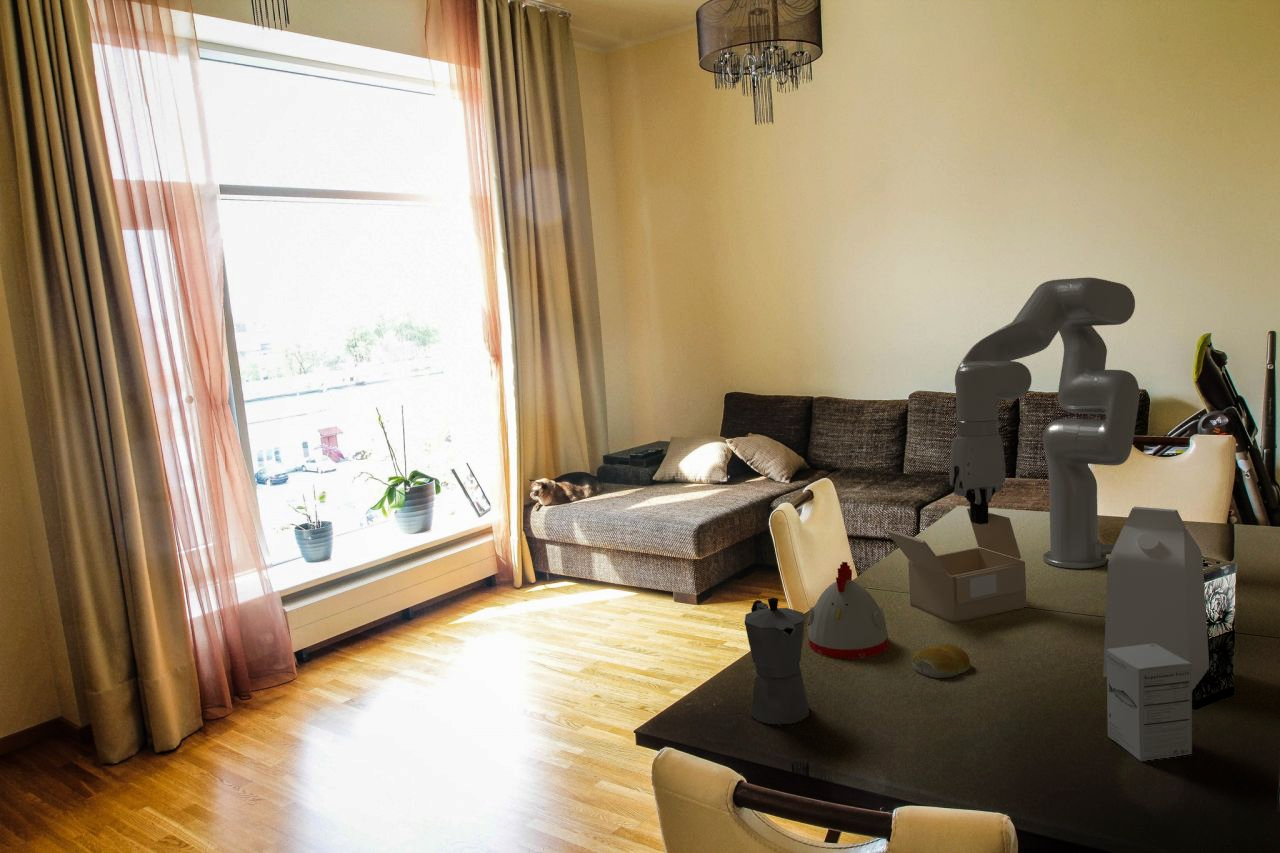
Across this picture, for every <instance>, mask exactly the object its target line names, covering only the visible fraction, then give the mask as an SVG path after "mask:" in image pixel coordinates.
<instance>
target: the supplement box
mask: <svg viewBox="0 0 1280 853" xmlns="http://www.w3.org/2000/svg"><path fill="white" fill-rule="evenodd" d="M1106 686H1107V687H1106V691H1107V692H1106V694H1107V697H1106V699H1107V703H1106V704H1107V705H1106V706H1107V708H1106V709H1107V713H1106V714H1107V716H1106V717H1107V737H1108V738H1109V739H1111V740H1113V742H1115V743H1117V744H1118V745H1119V746H1120V747H1122V748H1123V749H1125V750H1126V751H1127V752H1128V753H1129V754H1131V755H1132V756H1133V757H1135V758H1136V759H1137V760H1138V761H1139V762H1148V761H1147V760H1151V761H1155V760H1154V759H1159V760H1163V759H1162V758H1167V759H1170V758H1169V757H1175V758H1177V757H1176V756H1182V755H1188V754H1192V755H1193V706H1192V705H1193V699H1192V698H1193V691H1192V664H1191V663H1190V662H1188V661H1186V660H1184V659H1183V658H1181V657H1179V656H1177V655H1175V654H1174V653H1172V652H1170V651H1168V650H1166V649H1164V648H1162V647H1161V646H1159V645H1157V644H1144V645H1136V646H1128V647H1120V648H1112V649H1107V677H1106ZM1160 758H1161V759H1160Z"/></svg>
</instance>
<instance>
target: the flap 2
mask: <svg viewBox="0 0 1280 853" xmlns="http://www.w3.org/2000/svg"><path fill="white" fill-rule="evenodd" d="M966 510H967V514H968V517H969V521H970V523H971V526H972V531H973V533H974V537H975V540H976V544H977V548H978V547H979V548H982V549H985V550H988V551H992V552H995V553H998V554H1002V555H1005V556H1008V557H1011V558H1015V559H1018V560H1022V556H1021V552H1020V548H1019V545H1018V543H1017V538H1016V536H1015V533H1014V532H1015V531H1014V529H1013V525H1012V522H1011V519H1010V517H1009V516H1003V515H999V514H995V513H991V512H988V524H981V525H980V524H976V523H973V522H971V517H970V507H968V508H966Z"/></svg>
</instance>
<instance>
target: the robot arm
mask: <svg viewBox="0 0 1280 853" xmlns="http://www.w3.org/2000/svg"><path fill="white" fill-rule="evenodd" d="M1135 307H1136V299H1135V296H1134V293H1133V291H1132V289H1131V288H1129V286H1127V285H1126V284H1123V283H1119V282H1116V281H1111V280H1107V279H1103V278H1097V277H1078V278H1077V277H1076V278H1061V279H1051V280H1047V281H1045V282H1043V283H1041V284H1040V285H1038V286H1037V287H1036V288H1035V290H1033V293H1032V294H1030V297H1029V298H1028V299H1027V301H1026V303H1024V304H1023V306H1022V308H1021V309H1020V311H1019V312H1018V313H1017V314H1016V317H1015V318H1013V320H1012V322H1010V323H1008V324H1006V325H1004V326H1003V327H1001V328H999V329H997V330H996V331H994V332H992V333H990V334H989V335H987V336H985V337H983V338H982V339H980V340H979V341H977V342H976V343H975V344H974V345H973V346H972V347H971V348H970V349H969V350H968V352H967V353H965V356H964V357H963V358H962V360H961V361H960V363H959V364H958V366H957V369H956V371H955V375H954V386H955V407H956V408H955V409H956V414H955V415H956V436H954V437H953V439H952V442H951V448H950V455H949V473H948V475H949V485H950V486H952V487H954V490H953V494H954V495H955V496H959V497H964V498H965V499H966V501H967V503H969V508H970V517H971V521H970V523H971V522H973V523H976V524H980V525H981V524H988V513H989V504H990V503H991V502H992V497H993V496H994V495H995V493H998V492H1000V491H1002V490H1003V489H1004V485H1003V484H1004V483H1005V480H1006V459H1005V451H1004V446H1003V441H1002V436H1001V435H1000V434H999V428H1002V425H1003V424H1002V421H1001V420H999V403H998V402H999V400H1005V401H1006V400H1015V399H1016V400H1017V399H1020V398H1022V397H1023V396H1025V395H1026V394H1027V393H1028V391H1029V390H1030V388H1031V385H1032V374H1031V371H1030V369H1029V368H1028V366H1026V365H1025V364H1024V363H1021V362H1020V361H1015V360H1019V359H1023V358H1025V357H1030V356H1032V355H1035V354H1038V353H1040V352H1042V351H1044V350H1046V349H1047V348H1048V347H1049V346H1050V345H1051V343H1052V341H1053V340H1054V339H1055V337H1056V335H1057V334H1058V333H1059V335H1060V337H1061V340H1062V344H1063V357H1062V358H1063V359H1062V365H1061V369H1060V377H1059V385H1058V391H1057V403H1058V405H1059V407H1060V408H1061V409H1062V410H1064V411H1065V412H1069V413H1073V414H1085V415H1090V414H1091V415H1105V419H1091V418H1068V417H1067V418H1066V417H1065V418H1064V417H1063V418H1059V419H1055V420H1053V421H1051V422H1049V423H1048V424H1047V425H1046V426H1045V428H1044V430H1043V433H1042V446H1043V450H1044V454H1045V459H1046V463H1047V464H1046V465H1047V473H1048V497H1049V501H1048V502H1049V532H1050V533H1049V536H1050V538H1049V539H1050V550H1048V551H1046V552H1044V553H1043V556H1042V557H1043V561H1044V563H1046V564H1049V565H1051V566H1054V567H1058V568H1066V569H1091V568H1099V567H1102V566H1103V565H1105V564H1106V563H1107V555H1111V552H1112V550H1113V548H1114V546H1115V544H1114V543H1113V544H1112V543H1111V544H1110V543H1109V544H1103V543H1101V541H1100V539H1099V530H1098V529H1099V527H1098V526H1099V522H1098V521H1099V520H1098V519H1099V517H1098V516H1099V515H1098V514H1099V513H1098V484H1097V480H1096V477H1095V474H1094V473H1093V471H1092V469H1091V468H1090V467H1089V465H1098V466H1120V465H1122V464H1124V463H1125V462H1127V460H1128V459H1129V457H1130V455H1131V452H1132V449H1133V443H1134V439H1135V438H1134V437H1135V429H1136V424H1137V423H1136V422H1137V417H1138V416H1137V415H1138V410H1139V404H1140V403H1139V402H1140V387H1139V383H1138V380H1137V378H1136V377H1135V375H1133V373H1131V372H1130V371H1127V370H1122V369H1106V364H1107V356H1108V348H1107V344H1106V343H1105V341H1104V338H1102V337H1101V335H1100V334H1099V333H1098V331H1097V330H1096V329H1095V328H1094V327H1096V326H1116V325H1117V326H1119V325H1123V324H1125V323H1127V322H1128V321H1129V320H1130V319H1131V318H1132V317H1133V314H1134V312H1135Z"/></svg>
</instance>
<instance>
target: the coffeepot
mask: <svg viewBox="0 0 1280 853" xmlns="http://www.w3.org/2000/svg"><path fill="white" fill-rule="evenodd" d="M767 603H768V604H767ZM767 603H765V602H763V601H762V600H759V599H757V600H754V601H753V603H752V606H751V609H750V610H751V612H748V613H746V614H745V617H744V626H745V630H746V635H747V640H748V645H749V649H750V653H751V654H750V655H751V658H752V659H751V660H752V663H753V664H754V665H755V666H754V667H755V668H754V669H755V670H754V671H755V672H754V681H753V692H752V701H751V702H752V704H751V717H752V718H753V719H754V720H757V721H758V722H759V721H761V722H760V723H762V722H763V723H762V724H765V723H767V724H766V725H770V724H773V725H772V726H782V725H781V724H789V725H793V724H792V723H794V724H797V723H796V722H798V721H800V720H802V719H804V718H805V717H807V718H808V717H809V716H810V708H809V707H810V706H809V701H808V697H807V692H806V687H805V683H804V678H803V675H802V670H801V667H800V662H801V660H802V648H803V646H802V645H803V635H804V623H805V615H804V614H805V613H804V612H802V611H799V610H795V609H792V608H788V607H779V606H778V605H779V598H777V597H769V598H767ZM805 719H806V718H805ZM805 719H804V720H805ZM802 721H803V720H802ZM800 722H801V721H800ZM798 723H799V722H798ZM775 724H777V725H775Z"/></svg>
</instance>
